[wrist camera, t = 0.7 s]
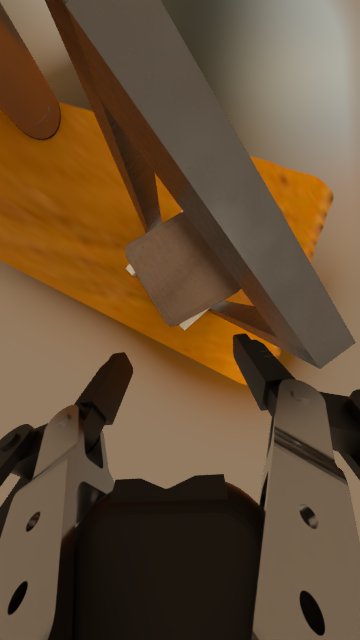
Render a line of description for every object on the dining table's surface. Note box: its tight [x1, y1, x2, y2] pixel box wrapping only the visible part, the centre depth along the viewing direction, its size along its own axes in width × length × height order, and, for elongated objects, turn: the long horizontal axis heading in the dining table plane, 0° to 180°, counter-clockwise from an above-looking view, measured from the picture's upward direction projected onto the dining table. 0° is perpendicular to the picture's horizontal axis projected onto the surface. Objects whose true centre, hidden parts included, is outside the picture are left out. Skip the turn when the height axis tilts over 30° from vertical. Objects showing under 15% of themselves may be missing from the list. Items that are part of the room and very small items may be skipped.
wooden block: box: [125, 211, 241, 326], centre depth 23 cm, size 10×10×20 cm
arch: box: [45, 0, 355, 369], centre depth 19 cm, size 24×3×26 cm, turn 42°
